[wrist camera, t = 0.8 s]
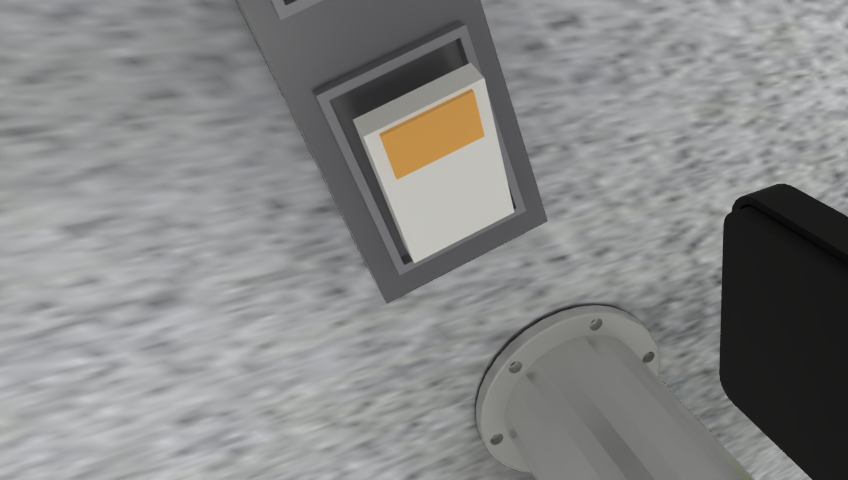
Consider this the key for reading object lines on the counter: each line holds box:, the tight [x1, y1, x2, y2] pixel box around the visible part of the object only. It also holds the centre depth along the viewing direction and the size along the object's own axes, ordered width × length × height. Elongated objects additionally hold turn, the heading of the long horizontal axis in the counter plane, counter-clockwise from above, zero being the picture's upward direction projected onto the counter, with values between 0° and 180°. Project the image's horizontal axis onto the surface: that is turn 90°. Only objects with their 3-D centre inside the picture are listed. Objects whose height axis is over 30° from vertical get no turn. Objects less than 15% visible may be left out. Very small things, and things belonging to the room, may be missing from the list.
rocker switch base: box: [236, 0, 547, 303], centre depth 32 cm, size 26×9×4 cm, turn 20°
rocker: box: [353, 63, 514, 263], centre depth 33 cm, size 8×5×1 cm, turn 20°
